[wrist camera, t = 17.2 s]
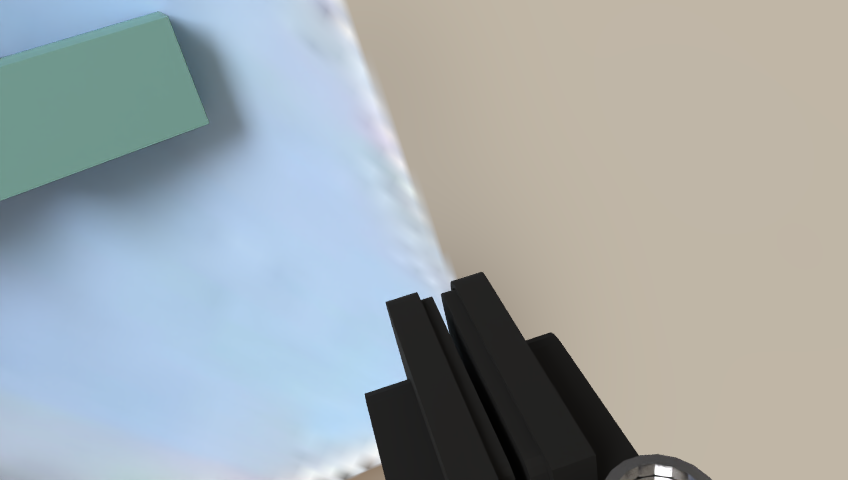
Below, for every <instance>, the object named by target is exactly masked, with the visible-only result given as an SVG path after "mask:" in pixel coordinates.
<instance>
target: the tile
mask: <svg viewBox="0 0 848 480" xmlns="http://www.w3.org/2000/svg"><path fill="white" fill-rule="evenodd" d="M207 124H209V121H208V118H207V116H206V113H205V111H204V108H203V106H202V103H201V100H200V98H199V95H198V93H197V90H196V88H195V85H194V82H193V80H192V77H191V75H190V72H189V70H188V67H187V64H186V62H185V59H184V57H183V54H182V52H181V49H180V46H179V44H178V41H177V39H176V36H175V34H174V31H173V28H172V26H171V23H170V21H169V18H168V16H166V15H164V14H162V13H160V12H155V13H151V14H148V15H145V16H141V17H138V18H134V19H131V20H128V21H124V22H121V23H118V24H114V25H111V26H107V27H104V28H101V29H97V30H94V31H91V32H87V33H84V34H80V35H77V36H74V37H70V38H67V39H64V40H60V41H57V42H53V43H50V44H47V45H43V46H40V47H37V48H33V49H30V50H26V51H23V52H20V53H16V54H13V55H10V56H6V57H3V58H0V201H1V200H4V199H7V198H9V197H12V196H15V195H18V194H20V193H23V192H26V191H28V190H31V189H34V188H36V187H39V186H42V185H45V184H47V183H50V182H53V181H55V180H58V179H61V178H63V177H66V176H69V175H72V174H74V173H77V172H80V171H82V170H85V169H88V168H91V167H93V166H96V165H99V164H101V163H104V162H107V161H109V160H112V159H115V158H118V157H120V156H123V155H126V154H128V153H131V152H134V151H136V150H139V149H142V148H145V147H147V146H150V145H153V144H155V143H158V142H161V141H163V140H166V139H169V138H172V137H174V136H177V135H180V134H182V133H185V132H188V131H190V130H193V129H196V128H199V127H201V126H204V125H207Z"/></svg>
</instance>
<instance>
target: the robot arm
mask: <svg viewBox="0 0 848 480" xmlns="http://www.w3.org/2000/svg"><path fill="white" fill-rule="evenodd" d="M441 298H442V303H443V307H444V311H445V316H446V320H447V325H448V329H449V332H448V330H447V328H446V325H445V323H444V321H443V319H442V317H441V315H440V312H439V310H438V308H437V306H436V304H435V302H434V300H433V298H432V297H429V298H426V299H423V300H420V297H419V295H418V293H417V292H416V293H413V294H410V295H406V296H403V297H400V298H397V299H394V300H391V301H387V302H386V306H387V310H388V313H389V317H390V320H391V324H392V327H393V331H394V334H395V338H396V341H397V345H398V348H399V352H400V355H401V359H402V362H403V366H404V369H405V373H406V376H407V380H405V381H402V382H399V383H396V384H393V385H390V386H387V387H384V388H381V389H378V390H375V391H372V392H369V393H365V398H366V403H367V407H368V411H369V415H370V419H371V423H372V427H373V431H374V435H375V439H376V443H377V447H378V451H379V455H380V459H381V463H382V467H383V471H384V475H385V479H386V480H712V479H711V478H710V477H708V476H707V475H706V474H704V473H703V472H702V471H701V470H699V469H698V468H697V467H695V466H694V465H692V464H690V463H687V462H685V461H683V460H681V459H678V458H676V457H670V456H664V455H659V454H654V455H640V456H639V455H638V454H637V452H636V451H635V449H634V448H633V446H632V445H631V443H630V442H629V441H628V439H627V438H626V436H625V435H624V433H623V432H622V430H621V429H620V428H619V426H618V425H617V423H616V422H615V420H614V419H613V417H612V416H611V414H610V413H609V412H608V410H607V409H606V407H605V406H604V404H603V403H602V401H601V400H600V398H599V397H598V396H597V394H596V393H595V391H594V390H593V388H592V387H591V385H590V384H589V383H588V381H587V380H586V378H585V377H584V375H583V374H582V372H581V371H580V369H579V368H578V367H577V365H576V364H575V362H574V361H573V359H572V358H571V356H570V355H569V354H568V352H567V351H566V349H565V348H564V346H563V345H562V343H561V342H560V341H559V339H558V338H557V337H556V336H555V335H554V334H553V333H547V334H544V335H541V336H538V337H535V338H532V339H529V340H526V341H525V339H524V337H523V336H522V334H521V333H520V331H519V329H518V328H517V326H516V325H515V323H514V321H513V320H512V318H511V316H510V315H509V313H508V311H507V310H506V309H505V307H504V305H503V303H502V302H501V300H500V298H499V297H498V295H497V294H496V292H495V290H494V289H493V287H492V286H491V284H490V282H489V281H488V279H487V278H486V276H485V275H484V273H483V272H480V273H476V274H473V275H470V276H467V277H464V278H461V279H457V280H454V281H451V291H448V292H445V293H442V294H441Z"/></svg>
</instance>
